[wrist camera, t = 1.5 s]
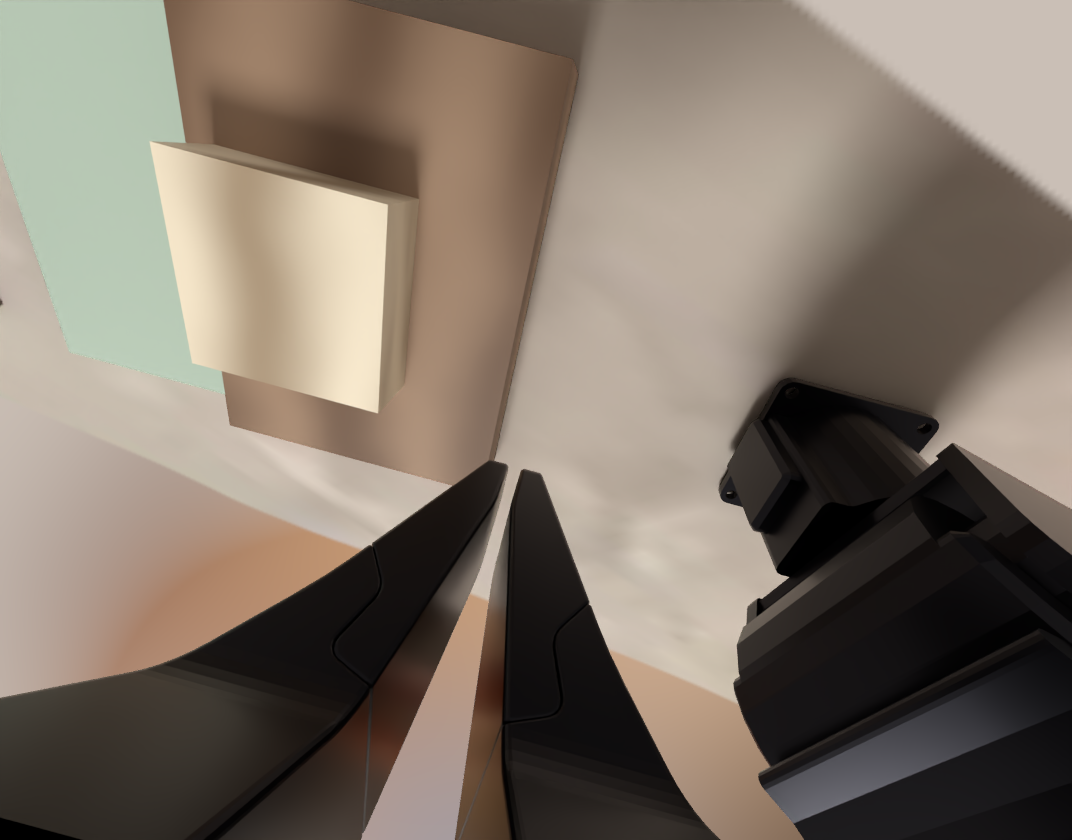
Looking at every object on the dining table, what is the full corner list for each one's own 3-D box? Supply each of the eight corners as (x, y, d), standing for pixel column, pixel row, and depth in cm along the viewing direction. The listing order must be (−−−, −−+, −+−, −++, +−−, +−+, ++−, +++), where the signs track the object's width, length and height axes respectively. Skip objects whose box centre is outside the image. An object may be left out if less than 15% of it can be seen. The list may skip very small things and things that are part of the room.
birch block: (418, 199, 15) (388, 204, 13) (404, 385, 18) (378, 413, 16) (213, 144, 15) (149, 141, 13) (239, 340, 18) (192, 363, 16)
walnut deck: (578, 74, 14) (573, 59, 12) (493, 462, 23) (481, 493, 20) (222, -20, 15) (155, -51, 12) (265, 400, 23) (230, 425, 21)
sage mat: (222, -20, 15) (212, -24, 14) (265, 400, 23) (260, 404, 22) (-72, -97, 15) (-88, -103, 14) (77, 349, 23) (69, 352, 22)
